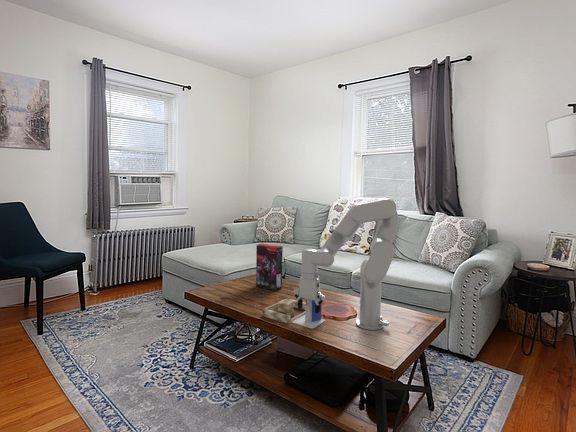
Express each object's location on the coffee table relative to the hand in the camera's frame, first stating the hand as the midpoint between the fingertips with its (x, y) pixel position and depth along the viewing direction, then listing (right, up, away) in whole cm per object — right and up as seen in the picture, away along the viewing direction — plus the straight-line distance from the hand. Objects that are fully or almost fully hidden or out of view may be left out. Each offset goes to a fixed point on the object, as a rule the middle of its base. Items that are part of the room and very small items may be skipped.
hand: (308, 310), depth 166 cm
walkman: (+2, -5, +1) cm, 6 cm away
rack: (-10, -5, +11) cm, 15 cm away
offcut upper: (-11, -1, +5) cm, 12 cm away
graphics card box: (-22, -1, +56) cm, 60 cm away
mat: (0, -6, 0) cm, 5 cm away
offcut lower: (-11, -5, +6) cm, 13 cm away
